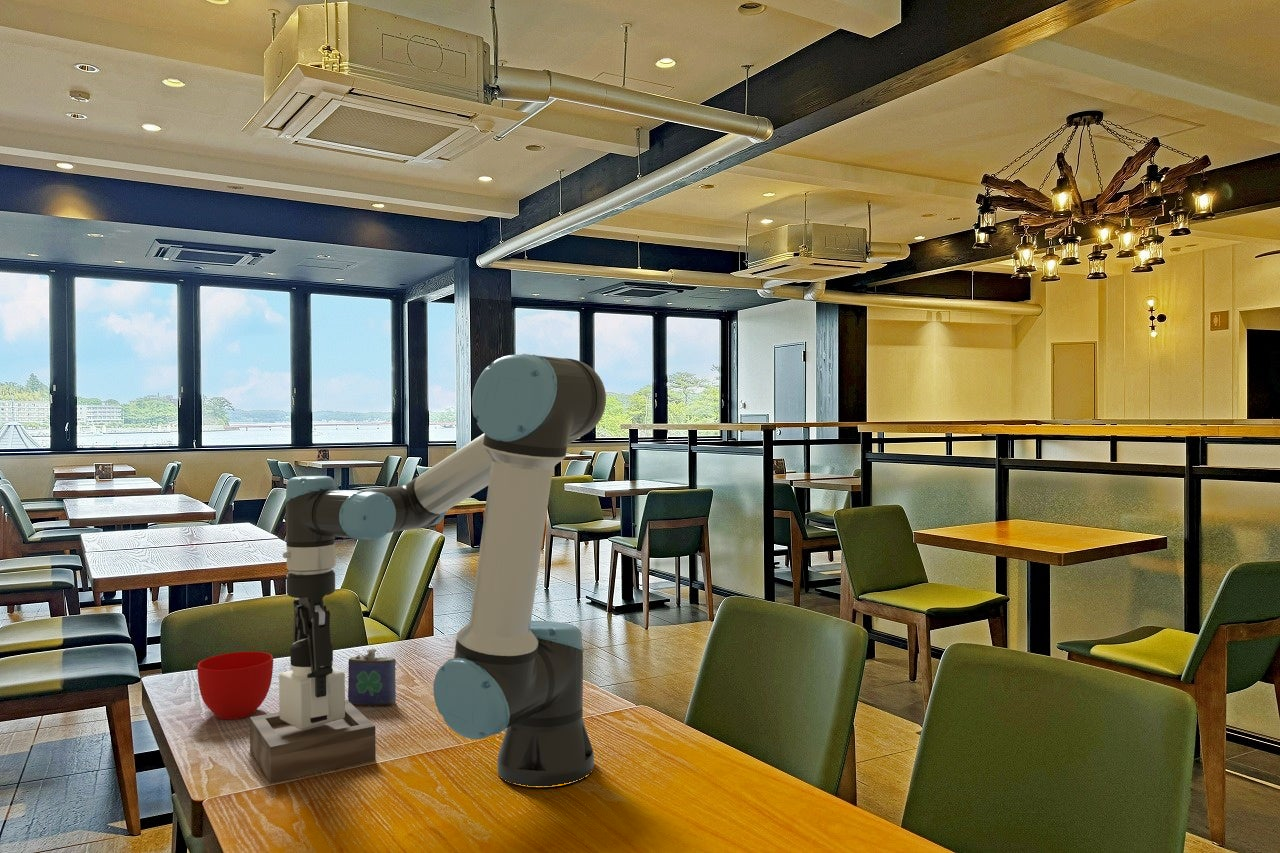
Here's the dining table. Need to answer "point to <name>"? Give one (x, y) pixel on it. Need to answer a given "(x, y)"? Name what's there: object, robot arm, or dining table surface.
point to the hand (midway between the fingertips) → (311, 707)
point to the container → (308, 690)
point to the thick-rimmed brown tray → (311, 744)
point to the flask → (371, 680)
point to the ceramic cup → (235, 682)
